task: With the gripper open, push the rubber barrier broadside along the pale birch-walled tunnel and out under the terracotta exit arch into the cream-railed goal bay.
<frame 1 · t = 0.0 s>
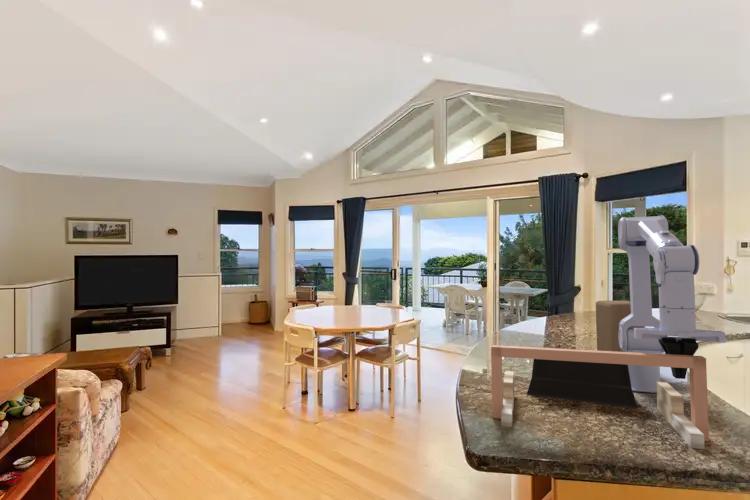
hand: (679, 377, 81), 10 cm above the counter, fingers closed, pressing on exit arch
exit arch: (591, 426, 83), on the counter
barrier: (579, 397, 102), on the counter
wooden block: (620, 367, 128), on the counter
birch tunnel: (585, 409, 93), on the counter
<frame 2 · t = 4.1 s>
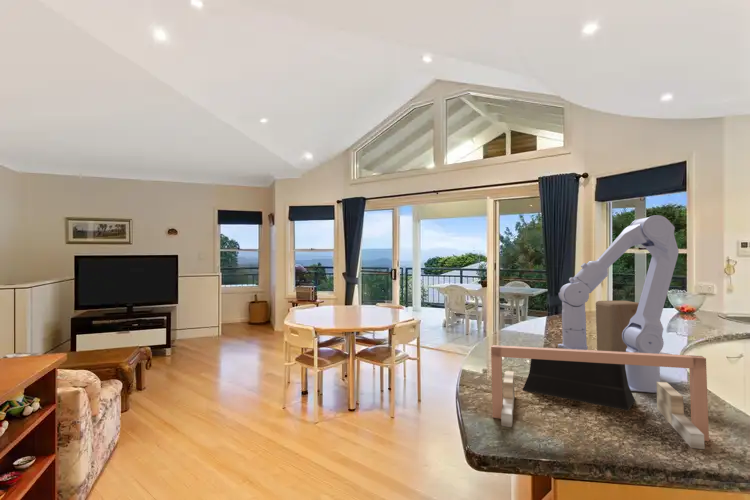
hand: (575, 380, 110), 1 cm above the counter, fingers open, 7 cm apart
barrier: (576, 396, 102), on the counter, touching gripper
everything else where it was.
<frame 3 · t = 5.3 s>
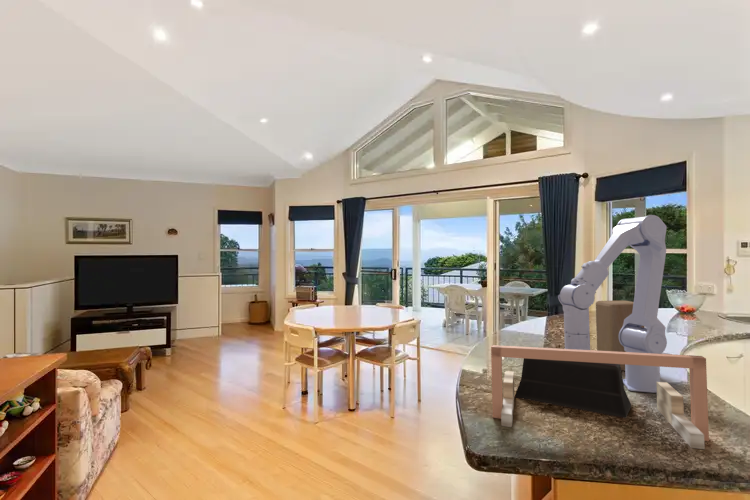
hand: (578, 387, 104), 1 cm above the counter, fingers open, 7 cm apart
barrier: (570, 402, 98), on the counter, touching gripper
everything else where it was.
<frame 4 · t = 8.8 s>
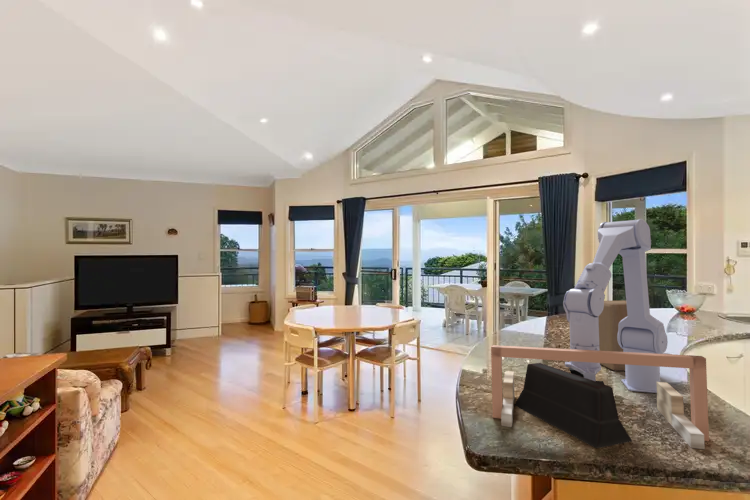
hand: (586, 406, 90), 1 cm above the counter, fingers open, 7 cm apart
barrier: (566, 423, 86), on the counter, touching gripper
everything else where it was.
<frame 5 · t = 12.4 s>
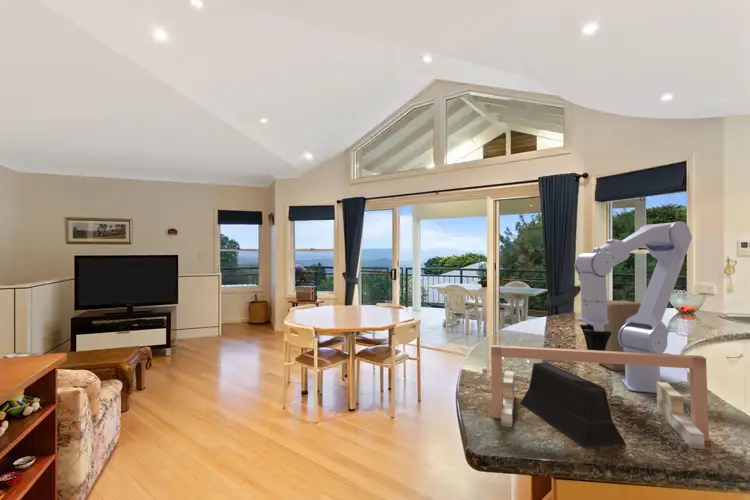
hand: (595, 356, 103), 9 cm above the counter, fingers open, 7 cm apart
barrier: (566, 423, 86), on the counter
everything else where it was.
at the end: barrier inside the target area (7.7 cm from its centre), on the counter; barrier tilted 0°; barrier moved 18.9 cm from its start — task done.
